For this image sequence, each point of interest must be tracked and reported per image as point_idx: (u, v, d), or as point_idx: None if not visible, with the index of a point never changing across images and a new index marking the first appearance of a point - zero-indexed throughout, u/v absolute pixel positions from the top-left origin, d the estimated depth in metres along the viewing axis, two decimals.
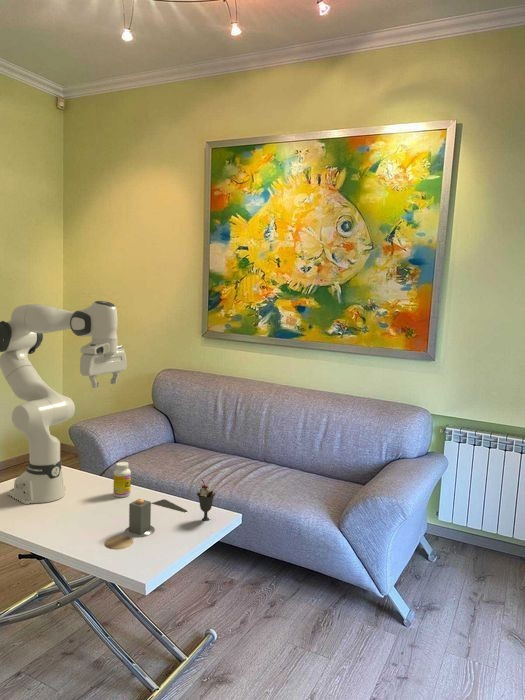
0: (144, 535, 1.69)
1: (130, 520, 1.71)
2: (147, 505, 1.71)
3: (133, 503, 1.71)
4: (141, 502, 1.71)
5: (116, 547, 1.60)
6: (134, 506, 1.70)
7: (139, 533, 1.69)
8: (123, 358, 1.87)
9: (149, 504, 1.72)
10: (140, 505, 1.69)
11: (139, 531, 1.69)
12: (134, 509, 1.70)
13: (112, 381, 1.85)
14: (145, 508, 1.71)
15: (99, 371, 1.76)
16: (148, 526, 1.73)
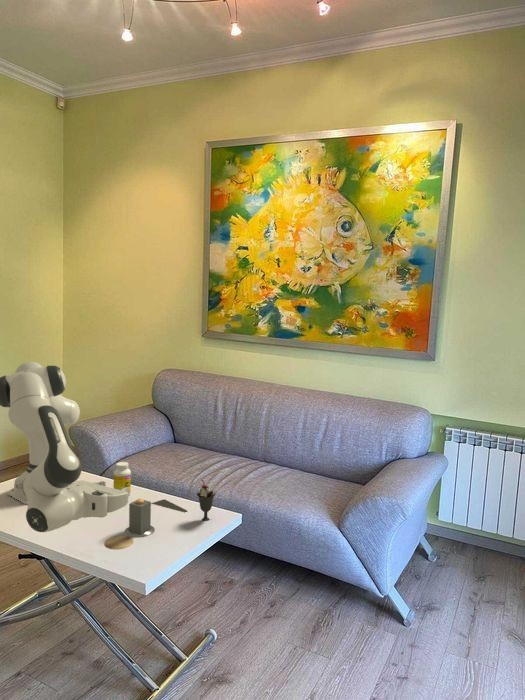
0: (144, 535, 1.69)
1: (130, 520, 1.71)
2: (147, 505, 1.71)
3: (133, 503, 1.71)
4: (141, 502, 1.71)
5: (116, 547, 1.60)
6: (134, 506, 1.70)
7: (139, 533, 1.69)
8: (73, 484, 1.55)
9: (149, 504, 1.72)
10: (140, 505, 1.69)
11: (139, 531, 1.69)
12: (134, 509, 1.70)
13: (103, 485, 1.61)
14: (145, 508, 1.71)
15: (113, 489, 1.53)
16: (148, 526, 1.73)
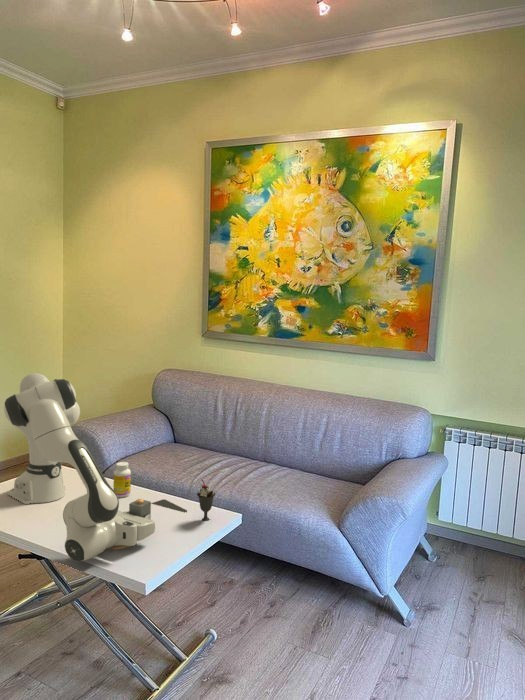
0: None
1: None
2: (147, 505, 1.71)
3: (133, 503, 1.71)
4: (141, 502, 1.71)
5: (116, 547, 1.60)
6: (134, 506, 1.70)
7: None
8: None
9: (149, 504, 1.72)
10: (140, 505, 1.69)
11: None
12: (134, 509, 1.70)
13: None
14: (145, 508, 1.71)
15: (140, 518, 1.65)
16: None
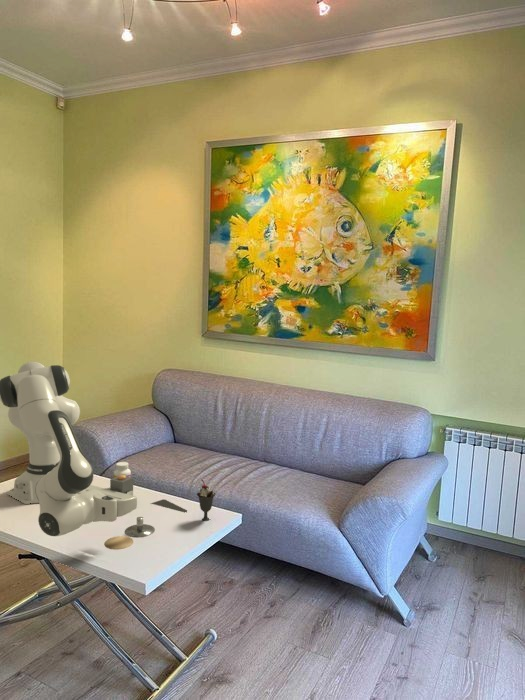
0: (144, 535, 1.69)
1: None
2: (129, 481, 1.62)
3: (114, 479, 1.61)
4: (123, 478, 1.61)
5: (116, 547, 1.60)
6: (115, 482, 1.60)
7: None
8: (83, 489, 1.59)
9: (131, 480, 1.63)
10: (122, 481, 1.60)
11: None
12: (115, 485, 1.60)
13: None
14: (127, 484, 1.61)
15: (122, 494, 1.56)
16: None
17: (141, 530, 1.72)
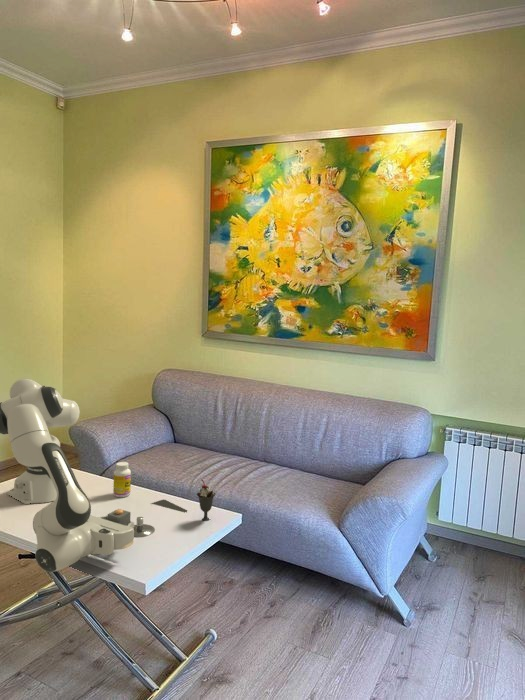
0: (144, 535, 1.69)
1: None
2: (126, 516, 1.62)
3: (111, 514, 1.62)
4: (120, 513, 1.62)
5: None
6: (113, 517, 1.61)
7: None
8: None
9: (129, 515, 1.63)
10: (119, 516, 1.60)
11: None
12: (113, 520, 1.61)
13: None
14: (124, 519, 1.62)
15: (119, 525, 1.56)
16: None
17: (141, 530, 1.72)
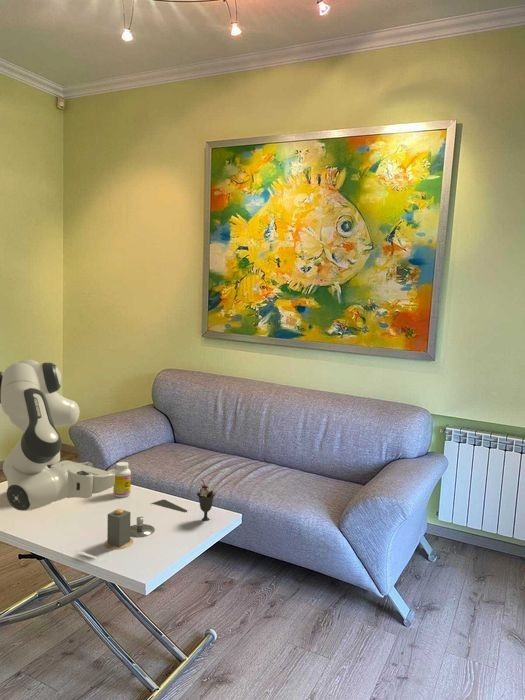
0: (144, 535, 1.69)
1: (108, 531, 1.62)
2: (126, 516, 1.62)
3: (111, 514, 1.62)
4: (120, 513, 1.62)
5: (116, 547, 1.60)
6: (113, 517, 1.61)
7: (118, 545, 1.61)
8: (58, 464, 1.49)
9: (129, 515, 1.63)
10: (119, 516, 1.60)
11: (118, 543, 1.60)
12: (113, 520, 1.61)
13: (89, 466, 1.55)
14: (124, 519, 1.62)
15: (99, 470, 1.47)
16: (128, 538, 1.64)
17: (141, 530, 1.72)
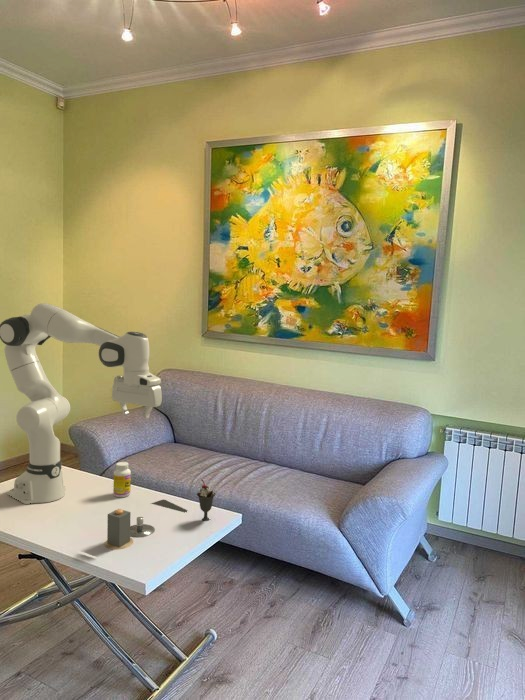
0: (144, 535, 1.69)
1: (108, 531, 1.62)
2: (126, 516, 1.62)
3: (111, 514, 1.62)
4: (120, 513, 1.62)
5: (116, 547, 1.60)
6: (113, 517, 1.61)
7: (118, 545, 1.61)
8: None
9: (129, 515, 1.63)
10: (119, 516, 1.60)
11: (118, 543, 1.60)
12: (113, 520, 1.61)
13: (127, 411, 1.83)
14: (124, 519, 1.62)
15: None
16: (128, 538, 1.64)
17: (141, 530, 1.72)
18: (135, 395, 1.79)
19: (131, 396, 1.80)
